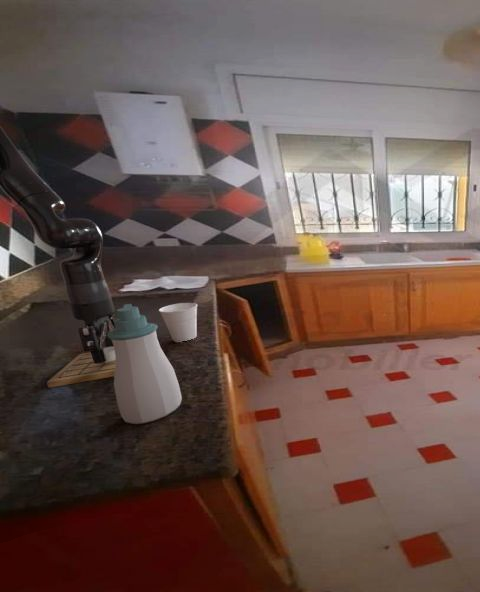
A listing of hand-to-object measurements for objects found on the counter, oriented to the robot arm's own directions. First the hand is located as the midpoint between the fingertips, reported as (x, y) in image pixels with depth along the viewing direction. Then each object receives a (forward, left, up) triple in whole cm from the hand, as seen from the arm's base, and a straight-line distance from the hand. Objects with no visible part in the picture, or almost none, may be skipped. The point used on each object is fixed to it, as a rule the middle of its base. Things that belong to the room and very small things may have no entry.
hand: (107, 355), depth 85 cm
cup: (+15, +12, -3) cm, 19 cm away
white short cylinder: (0, 0, -1) cm, 1 cm away
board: (0, 0, -3) cm, 3 cm away
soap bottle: (+16, -31, -3) cm, 35 cm away
